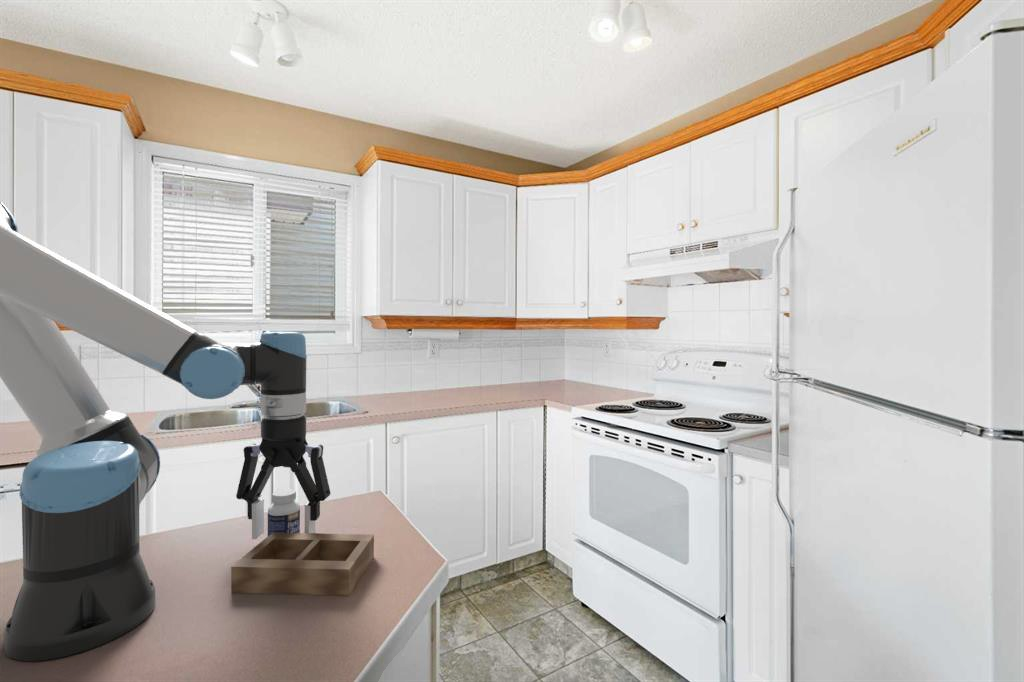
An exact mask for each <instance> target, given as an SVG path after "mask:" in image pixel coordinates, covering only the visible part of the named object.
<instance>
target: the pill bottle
mask: <svg viewBox="0 0 1024 682" xmlns="http://www.w3.org/2000/svg"><path fill="white" fill-rule="evenodd" d="M296 499H297V490H295V489H293V488H285V489H279V490H276V491H274V492H272V494H271V502H272V503H271V504H270V505H269V507H268V508H267V537H268V536H269V535H270V534H271V533H273V532H276V533H301V532H300V531H301V530H300V529H301V528H300V527H301V526H300V525H301V522H300V521H301V508H300V507H301V505H300V502H299V501H297V500H296Z"/></svg>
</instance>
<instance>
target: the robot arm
mask: <svg viewBox="0 0 1024 682" xmlns="http://www.w3.org/2000/svg"><path fill="white" fill-rule="evenodd" d="M57 324H58V325H60V326H64V327H65V328H68V329H69V330H71V331H73V332H76V333H78V334H80V335H82V336H84V337H86V338H88V339H89V340H91V341H94V342H96V343H97V344H100V345H102V346H104V347H106V348H108V349H110V350H112V351H114V352H116V353H118V354H120V355H122V356H125V357H126V358H129V359H130V360H132V361H135V362H137V363H139V364H141V365H143V366H145V367H147V368H149V369H151V370H153V371H155V372H157V373H160V374H161V375H163V376H164V377H166V378H168V379H171V380H173V381H175V382H176V383H179V384H180V385H181V386H183V387H184V388H185V389H186V390H187V391H188V392H189V393H190V394H191V395H193V396H196V397H198V398H201V399H203V400H216V399H221V398H224V397H227V396H228V395H230V394H232V393H233V392H234V391H235V390H236V389H238V388H239V387H240V386H253V385H254V386H255V385H260V414H261V415H262V419H260V437H261V441H260V443H259V444H256V443H251V444H249V445H246V446H245V447H244V448H243V456H244V461H243V465H242V468H241V473H240V478H239V482H238V487H237V489H236V490H237V491H236V499H237V500H243V501H245V502H246V504H247V519H248V520H251V540H257V539H258V538H260V537H261V536H262V535H263V534H264V533H265V498H260V497H262V493H263V491H264V489H265V486H266V484H267V483H268V480H269V479H270V477H271V475H272V474H273V473H272V472H273V471H274V469H275V468H280V467H283V468H290V471H291V472H292V473H294V475H295V476H296V479H297V481H298V483H299V484H300V487H301V489H302V491H303V493H304V495H305V497H306V498H307V503H305V504H304V533H316V522H317V520H318V519H319V518H320V516H321V514H320V513H321V502H324V501H325V500H326V499H327V498H329V496H331V489H330V484H329V479H328V476H327V472H326V468H325V467H326V466H325V463H324V460H323V455H324V453H323V452H324V446H323V445H322V444H318V445H311V444H308V442H307V439H306V438H307V437H306V436H307V417H306V415H305V413H306V412H307V358H308V357H307V346H306V345H307V344H306V337H305V335H304V334H303V333H301V332H299V331H298V332H297V331H265V332H264V331H263V332H262V333H261V335H260V339H259V342H250V343H248V342H217V341H216V340H214V339H212V338H211V337H209V336H207V335H205V334H203V333H200V332H199V331H197V330H195V329H193V328H192V327H190V326H188V325H186V324H184V323H182V322H181V321H179V320H178V319H175V318H174V317H172V316H170V315H168V314H166V313H165V312H164V311H163V312H162V311H161V310H158V309H157V308H155V307H154V306H152V305H150V304H148V303H146V302H144V301H142V300H140V299H139V298H137V297H135V296H134V295H132V294H130V293H128V292H126V291H124V290H122V289H120V288H119V287H117V286H115V285H114V284H112V283H110V282H108V281H106V280H105V279H102V278H100V277H99V276H97V275H95V274H93V273H91V272H90V271H87V270H86V269H84V268H82V267H81V266H79V265H77V264H75V263H73V262H71V261H70V260H67V259H66V258H64V257H62V256H61V255H58V254H57V253H55V252H53V251H52V250H49V249H48V248H46V247H43V246H42V245H40V244H38V243H36V242H35V241H33V240H31V239H30V238H28V237H25V236H23V235H22V234H21V233H19V229H18V224H17V221H16V220H15V217H14V215H13V214H12V212H11V211H10V210H9V209H8V208H7V206H6V205H5V204H4V203H3V202H1V201H0V379H1V380H2V382H3V384H4V385H5V386H6V388H7V389H8V391H9V393H10V394H11V395H12V397H13V398H14V399H15V402H17V404H18V405H19V407H20V408H21V410H22V412H23V413H24V414H25V416H26V417H27V419H28V420H29V421H30V423H31V424H32V426H33V428H34V429H35V430H36V432H37V434H38V435H39V436H40V438H41V444H40V446H39V447H38V449H37V452H36V457H34V458H33V459H31V460H30V461H29V462H28V463H27V465H26V466H25V467H24V469H23V472H22V479H21V481H22V482H21V483H20V486H19V497H20V500H21V520H22V521H21V524H22V526H21V528H22V530H21V531H22V533H21V534H22V570H23V573H22V577H23V579H22V585H21V587H20V589H19V593H18V595H17V598H16V600H15V603H14V606H13V609H12V613H11V617H10V618H9V619H8V621H7V623H6V624H5V627H4V631H3V651H4V653H5V655H6V656H7V657H9V658H11V659H14V660H17V661H26V662H36V661H47V660H52V659H54V660H55V659H58V658H59V659H60V658H64V657H68V656H72V655H75V654H78V653H81V652H84V651H87V650H88V651H89V650H91V649H94V648H96V647H99V646H101V645H104V644H106V643H108V642H111V641H113V640H114V639H117V638H119V637H121V636H123V635H125V634H127V633H128V632H130V631H131V630H133V629H134V628H136V627H137V626H139V625H140V624H141V623H143V622H144V621H146V619H147V618H149V616H150V615H151V614H152V612H153V611H154V609H155V607H156V587H155V584H154V582H153V581H152V579H150V577H149V574H148V572H147V569H146V566H145V563H144V561H143V558H142V556H141V552H140V551H141V550H140V506H141V503H142V502H143V500H144V498H145V497H146V495H147V494H148V493H149V492H150V491H151V489H152V488H153V486H154V484H155V483H156V482H157V479H158V476H159V474H160V469H161V457H160V456H161V455H160V452H159V450H158V448H157V445H155V443H154V442H153V441H152V440H151V439H150V438H149V437H147V436H146V435H144V434H142V433H140V432H139V431H138V429H137V428H136V426H135V425H134V423H133V422H132V420H131V418H130V417H129V415H128V413H125V412H118V411H115V410H112V409H110V407H109V406H108V404H107V402H106V401H105V399H104V398H103V395H101V393H100V392H99V389H98V388H97V387H96V385H95V383H94V381H93V380H92V378H91V377H90V376H89V374H88V372H87V370H86V369H85V367H84V366H83V364H82V362H81V361H80V360H79V358H78V357H77V355H76V354H75V352H74V351H73V349H72V348H71V345H70V343H69V342H68V341H67V339H66V338H65V336H64V334H63V333H62V331H61V330H60V328H59V327H58V325H57ZM305 453H307V456H308V458H310V466H311V470H312V475H313V477H312V475H311V473H310V471H309V469H308V467H307V462H306V460H305V458H304V455H305ZM260 454H262V455H263V457H264V461H263V463H262V465H261V467H260V470H259V473H258V474H257V476H256V478H255V480H254V477H255V473H256V470H257V464H258V460H259V456H260ZM253 481H254V482H253Z"/></svg>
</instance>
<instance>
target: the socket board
mask: <svg viewBox="0 0 1024 682" xmlns="http://www.w3.org/2000/svg"><path fill="white" fill-rule="evenodd" d="M374 556H375V534H364V533H363V534H358V533H357V534H356V533H354V534H353V533H320V532H319V533H316V532H315V533H305V532H300V533H276V532H273V533H271V534H270V535H269V536H268V535H267V536H266V538H264V539H263V540H262V541H261V542H259V543H258V544H257V545H256V546H254V547H253V548H252V549H250V551H249V552H247V553H246V554H245V555H243V557H241V558H239V560H237V561H236V562H235V563H234V564H232V565H231V567H230V568H231V569H230V574H231V575H230V576H231V578H230V579H231V580H230V583H231V584H230V586H231V587H230V588H231V590H230V592H231V593H237V594H239V593H240V594H242V593H243V594H267V595H268V594H271V595H272V594H273V595H275V594H276V595H277V594H278V595H306V596H308V595H311V596H313V595H314V596H315V595H316V596H346V597H348V596H350V595H351V594H352V592H353V590H354V588H355V587H356V586H357V584H358V583H359V581H360V580H361V578H362V577H363V575H364V573H365V572H366V570H367V568H368V567H369V565H370V564H371V562H372V561H373V559H374V558H375V557H374Z"/></svg>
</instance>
